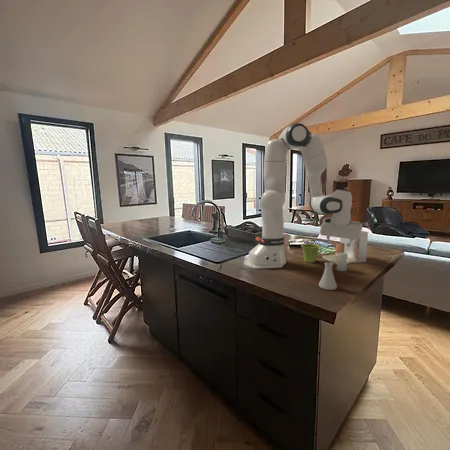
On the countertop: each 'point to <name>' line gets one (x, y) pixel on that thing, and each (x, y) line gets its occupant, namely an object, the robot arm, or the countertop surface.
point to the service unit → (353, 249)
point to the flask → (328, 278)
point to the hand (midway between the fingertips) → (338, 245)
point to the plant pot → (310, 252)
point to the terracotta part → (339, 248)
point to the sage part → (342, 261)
